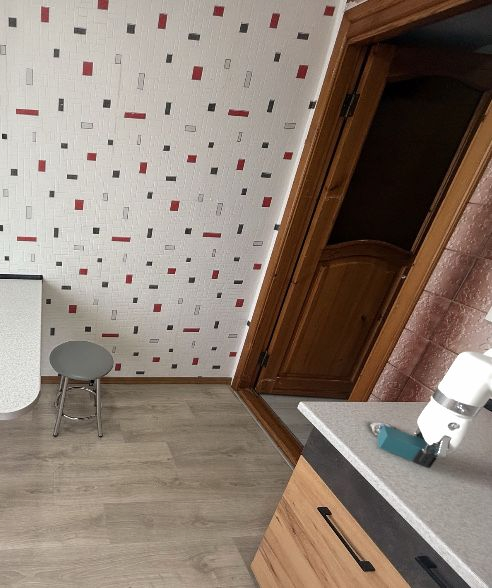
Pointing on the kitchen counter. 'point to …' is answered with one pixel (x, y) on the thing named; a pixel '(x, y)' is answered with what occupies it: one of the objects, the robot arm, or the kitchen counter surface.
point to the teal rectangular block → (400, 442)
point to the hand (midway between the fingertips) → (417, 456)
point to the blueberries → (379, 427)
